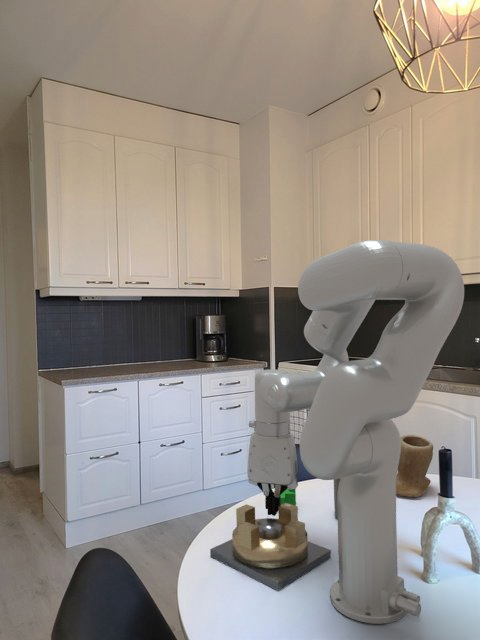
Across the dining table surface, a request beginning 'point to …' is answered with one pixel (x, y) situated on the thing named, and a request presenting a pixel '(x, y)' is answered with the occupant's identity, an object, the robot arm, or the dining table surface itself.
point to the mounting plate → (273, 576)
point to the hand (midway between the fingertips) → (273, 512)
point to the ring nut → (269, 538)
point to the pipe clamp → (289, 497)
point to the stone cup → (413, 466)
